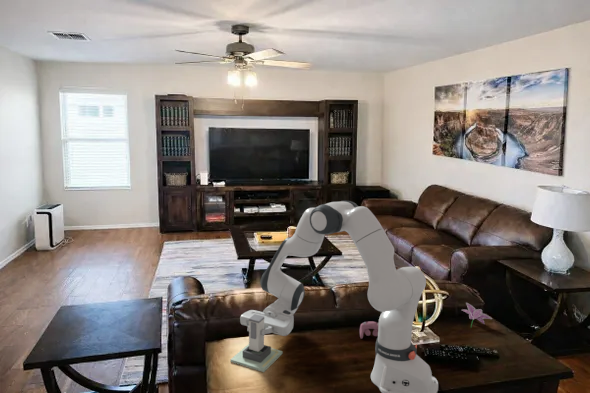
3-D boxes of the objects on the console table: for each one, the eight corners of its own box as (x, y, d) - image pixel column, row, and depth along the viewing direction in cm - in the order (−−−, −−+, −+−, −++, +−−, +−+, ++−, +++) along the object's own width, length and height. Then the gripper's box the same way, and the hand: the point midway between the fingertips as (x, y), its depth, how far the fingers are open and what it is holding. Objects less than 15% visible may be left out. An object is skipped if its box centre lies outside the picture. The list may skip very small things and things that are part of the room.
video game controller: (383, 339, 190) (383, 322, 192) (384, 340, 186) (384, 322, 187) (359, 338, 191) (359, 320, 193) (359, 338, 186) (360, 320, 188)
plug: (264, 346, 172) (264, 316, 170) (257, 352, 168) (257, 321, 166) (254, 344, 174) (254, 314, 171) (248, 349, 170) (248, 319, 167)
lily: (493, 333, 196) (497, 311, 198) (472, 326, 192) (476, 303, 194) (472, 329, 207) (476, 308, 209) (452, 323, 203) (456, 301, 205)
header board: (282, 353, 175) (282, 345, 174) (263, 372, 163) (263, 363, 162) (250, 344, 181) (250, 336, 180) (230, 361, 169) (230, 353, 168)
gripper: (251, 303, 185) (231, 317, 173) (297, 314, 176) (279, 330, 164) (251, 317, 186) (231, 332, 174) (296, 329, 177) (279, 346, 165)
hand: (255, 331), depth 169 cm, fingers closed on plug, 4 cm apart
